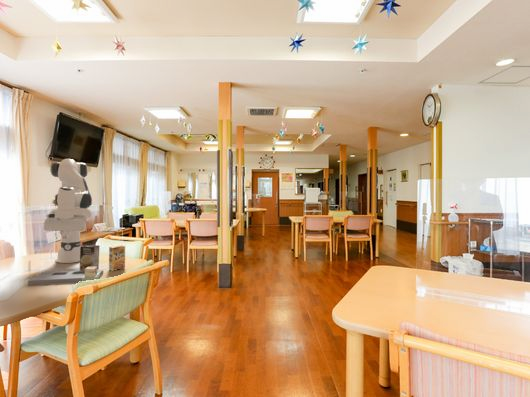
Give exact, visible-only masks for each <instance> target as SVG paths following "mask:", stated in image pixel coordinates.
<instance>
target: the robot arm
mask: <svg viewBox="0 0 530 397" xmlns="http://www.w3.org/2000/svg"><path fill="white" fill-rule="evenodd" d="M49 171H50V173H51V175H52V176H53V177H55V178H58V179H59V181H60V182H61V187H59V188H58V192H57V193H56V194H55V195H54V204H55V205H56V206H57V207H56V208H53V209H51V211H50V212H49V213H48V214H46V215H45V216H46V218H45V220H44V222H43V230H44V231H45V232H46V231H51V232H53V231H54V232H59V235H60V236H61V242H60V248H59V249H57V259H55V260H54V262H56V263H60V264H73V263H77V262H78V263H80V247H81V246H82V240H81V232H84V231H86V230H87V221H88V222H89V221H90V220H91V219H92V216H93V213H92V210H91V209H90V207H91V206H92V204H93V197H92V194H91V193H90V190H89V186H88V184H87V181H86V179H85V178H86V177H87V176H88V174H89V167H88V164H86V163H85V162H76V160H74V159H71V158H64V159H62V160H61V161H60V162H58V161H55V162H52V163H51V164H50V166H49Z"/></svg>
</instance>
